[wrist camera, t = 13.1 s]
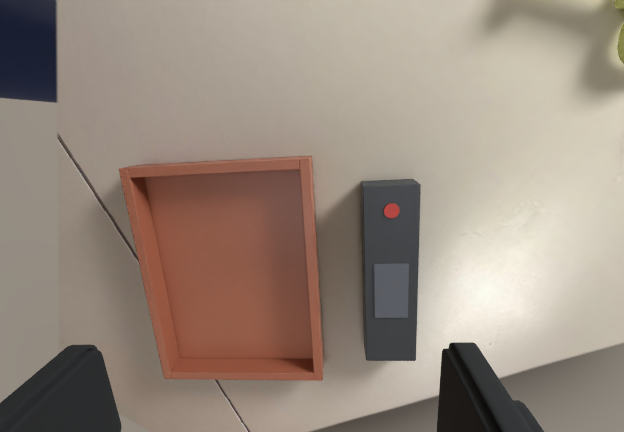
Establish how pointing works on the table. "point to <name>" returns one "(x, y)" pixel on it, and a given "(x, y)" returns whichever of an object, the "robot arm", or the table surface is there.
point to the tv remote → (390, 268)
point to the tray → (230, 266)
